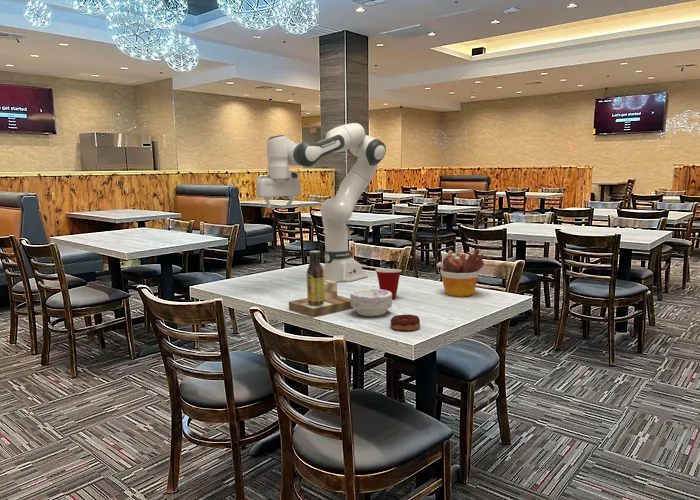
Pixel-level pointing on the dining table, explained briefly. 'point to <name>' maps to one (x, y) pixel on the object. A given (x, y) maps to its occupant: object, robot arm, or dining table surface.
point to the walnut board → (321, 306)
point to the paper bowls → (371, 301)
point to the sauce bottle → (315, 280)
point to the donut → (405, 322)
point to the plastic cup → (389, 280)
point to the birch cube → (330, 289)
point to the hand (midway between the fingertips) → (279, 207)
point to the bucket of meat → (460, 273)
